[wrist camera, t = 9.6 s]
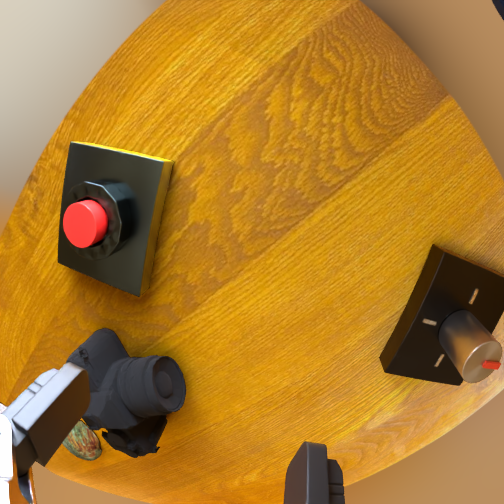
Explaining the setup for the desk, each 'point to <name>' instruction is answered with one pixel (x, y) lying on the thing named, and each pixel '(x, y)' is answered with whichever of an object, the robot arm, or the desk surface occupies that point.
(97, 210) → the button
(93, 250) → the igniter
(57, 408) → the robot arm
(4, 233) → the desk surface
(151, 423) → the film camera
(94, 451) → the seashell
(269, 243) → the desk surface
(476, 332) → the hob knob
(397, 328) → the hob panel
